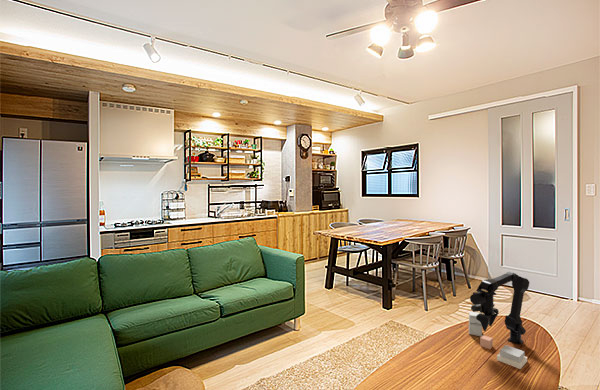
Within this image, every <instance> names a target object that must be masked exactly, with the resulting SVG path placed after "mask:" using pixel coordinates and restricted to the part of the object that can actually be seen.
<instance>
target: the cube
mask: <svg viewBox="0 0 600 390" xmlns="http://www.w3.org/2000/svg"><path fill="white" fill-rule="evenodd" d="M479 340H480V341H479V347H482V348H484V349H488V350H491V348H493V346H494V345H493V344H494V339H493V337H490V336H487V335H483V334H482V336H480V338H479Z"/></svg>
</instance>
